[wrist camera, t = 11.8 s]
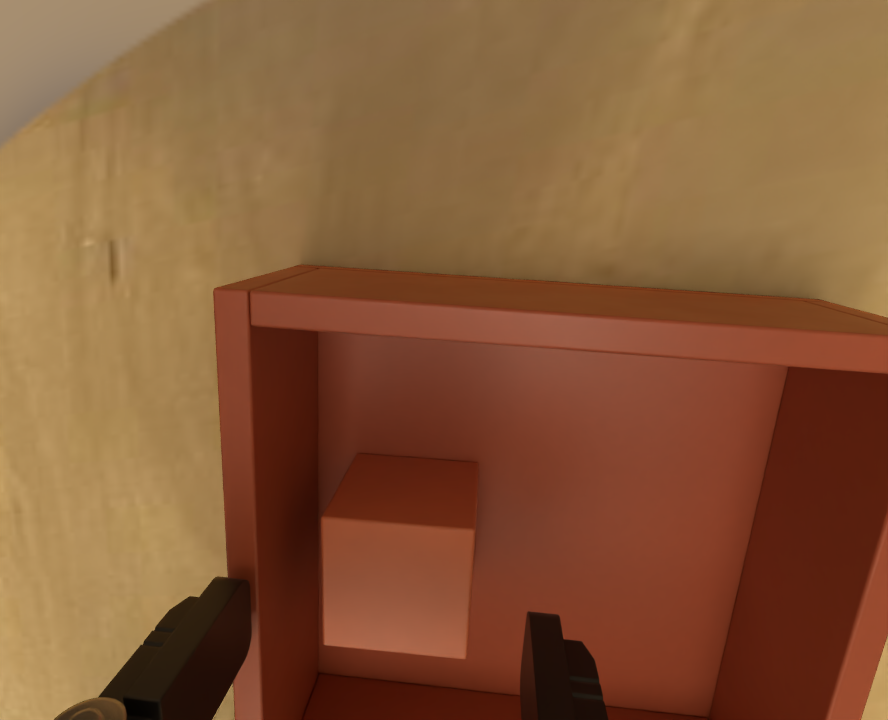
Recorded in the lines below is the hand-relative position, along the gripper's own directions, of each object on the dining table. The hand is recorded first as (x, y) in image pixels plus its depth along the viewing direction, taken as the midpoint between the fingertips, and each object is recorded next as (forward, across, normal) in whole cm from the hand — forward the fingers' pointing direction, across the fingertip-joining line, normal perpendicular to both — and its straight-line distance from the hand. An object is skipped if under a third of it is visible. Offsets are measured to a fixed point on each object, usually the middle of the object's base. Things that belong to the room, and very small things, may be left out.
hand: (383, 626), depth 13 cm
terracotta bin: (+6, -4, 0) cm, 7 cm away
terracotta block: (+5, 0, 0) cm, 5 cm away
